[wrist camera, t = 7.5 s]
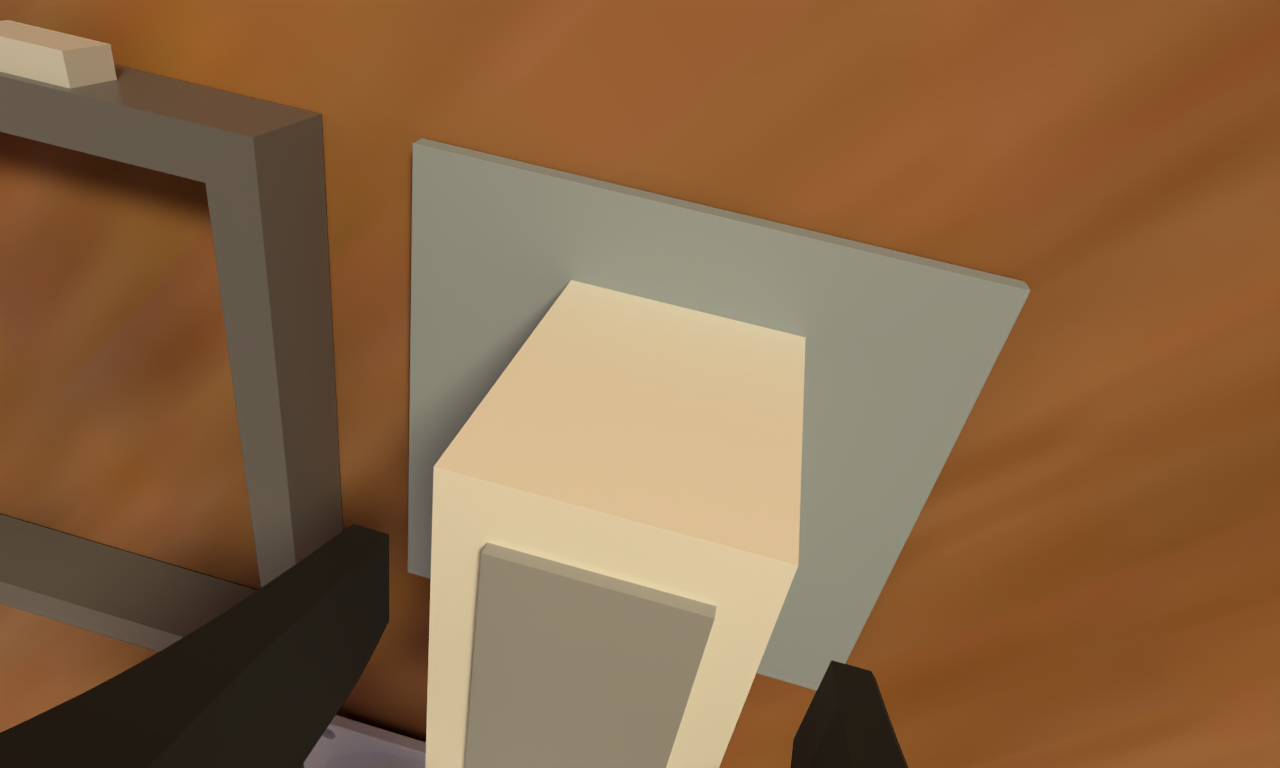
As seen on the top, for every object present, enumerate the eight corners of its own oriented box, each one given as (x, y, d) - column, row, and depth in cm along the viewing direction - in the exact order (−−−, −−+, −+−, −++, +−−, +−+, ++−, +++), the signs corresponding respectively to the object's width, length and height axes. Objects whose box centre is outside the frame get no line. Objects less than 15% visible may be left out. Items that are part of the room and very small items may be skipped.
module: (805, 337, 14) (797, 577, 9) (720, 597, 17) (679, 876, 12) (571, 280, 14) (426, 476, 9) (536, 546, 18) (419, 795, 13)
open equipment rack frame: (319, 80, 14) (248, 99, 12) (348, 639, 22) (309, 698, 20) (-385, -85, 15) (-538, -88, 13) (-107, 503, 23) (-179, 548, 21)
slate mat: (1024, 281, 13) (1030, 290, 13) (829, 680, 19) (829, 694, 18) (422, 138, 14) (412, 142, 13) (414, 561, 20) (407, 572, 19)
